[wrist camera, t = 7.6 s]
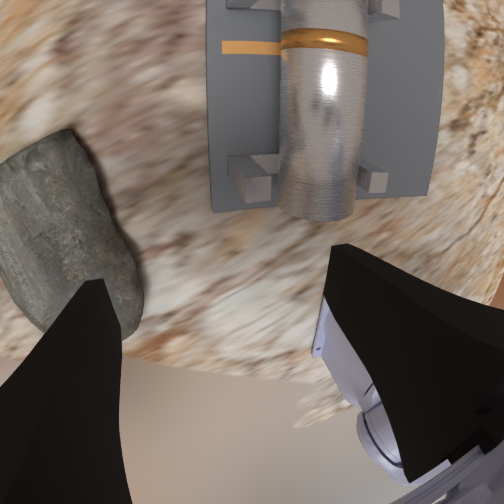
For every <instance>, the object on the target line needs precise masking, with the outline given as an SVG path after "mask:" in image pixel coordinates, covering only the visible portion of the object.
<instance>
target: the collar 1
mask: <svg viewBox="0 0 504 504" xmlns="http://www.w3.org/2000/svg"><path fill="white" fill-rule="evenodd" d="M226 9H232V10H255V11H269V12H279V13H281V0H226ZM394 19H400V7H399V0H368V23H371V22H378V21H386V20H394Z"/></svg>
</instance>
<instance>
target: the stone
mask: <svg viewBox="0 0 504 504" xmlns="http://www.w3.org/2000/svg"><path fill="white" fill-rule="evenodd" d="M0 275H1V277H2V279H3V281H4V283H5V285H6V287H7V289H8V292H9V294H10V296H11V298H12V300H13V302H14V303H15V304H16V305H17V306H18V307H19V308H20V310H21V311H22V312H23V313H24V315H25V316H26V317H27V318H28V319H29V321H30V322H31V323H32V324H34V325H35V326H36V327H37V328H38V329H39V330H41V331H42V332H43V333H46V331H47V330H48V329H49V328H50V326H51V325H52V324H53V322H54V321H55V319H56V318H57V317H58V315H59V314H60V313H61V311H62V310H63V309H64V307H65V306H66V305H67V303H68V302H69V301H70V299H71V298H72V297H73V295H74V294H75V293H76V291H77V290H78V289H79V288H80V286H81V285H82V284H83V283H84V282H85V281H87V280H94V279H101V278H104V281H105V284H106V287H107V290H108V293H109V296H110V299H111V302H112V304H113V307H114V310H115V312H116V315H117V318H118V320H119V323H120V325H121V337H122V341H123V340H124V339H126V338H127V337H129V336H130V335H132V334H133V333H134V332H135V331H136V330H137V328H138V326H139V323H140V321H141V317H142V313H143V307H144V294H143V289H142V284H141V281H140V277H139V274H138V271H137V266H136V263H135V260H134V257H133V255H132V253H131V251H130V250H129V249H128V247H127V245H126V243H125V242H124V240H123V239H122V238H121V237H120V235H119V234H118V232H117V230H116V228H115V226H114V224H113V220H112V217H111V215H110V211H109V208H108V206H107V204H106V203H105V201H104V199H103V196H102V193H101V190H100V187H99V183H98V180H97V176H96V171H95V169H94V166H93V164H92V163H91V162H90V161H89V158H88V155H87V153H86V152H85V150H84V149H83V148H82V147H81V145H80V144H79V143H78V142H77V141H76V139H75V137H74V134H73V131H72V130H70V129H64V130H61V131H58V132H56V133H53V134H51V135H49V136H47V137H45V138H43V139H41V140H40V141H38V142H36V143H35V144H33V145H31V146H29V147H27V148H25V149H23V150H22V151H20V152H18V153H16V154H15V155H13V156H11V157H10V158H8V159H7V160H6V161H4V162H3V163H1V164H0Z"/></svg>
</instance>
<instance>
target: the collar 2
mask: <svg viewBox="0 0 504 504" xmlns="http://www.w3.org/2000/svg"><path fill="white" fill-rule="evenodd" d="M278 163H279V152H268V153H249V154H234V155H227V170H228V176H229V177H230V179H231V181H232V182H233V184H234V185H235V187H236V188H237V190H238V192H239V193H240V195H241V196H242V198H243V200H244V201H245V203H251V202H261V201H271V175H270V174H274V173H278ZM388 174H389V172H387V171H385V170H383V169H381V168H379V167H378V166H376V165H374V164H372V163H370V162H368V161H366V160H364V159H362V158H360V167H359V174H358V182H357V186H358V187H360V188H361V189H363V190H364V191H366V192H367V193H385V192H386V186H387V181H388Z"/></svg>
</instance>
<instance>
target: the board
mask: <svg viewBox="0 0 504 504" xmlns="http://www.w3.org/2000/svg"><path fill="white" fill-rule="evenodd" d="M399 7H400V19H394V20H386V21H378V22H371V23H368V69H367V90H366V105H365V118H364V130H363V140H362V149H361V158H362V159H364V160H366V161H368V162H370V163H372V164H374V165H376V166H378V167H379V168H381V169H383V170H385V171H387V172H389V174H388V181H387V186H386V192H385V193H367V192H366V191H364V190H363V189H361V188H360V187H358V186H357V189H356V196H355V200H357V199H372V198H389V197H409V196H427V192H428V188H429V183H430V178H431V173H432V168H433V162H434V156H435V150H436V144H437V137H438V130H439V122H440V114H441V104H442V92H443V77H444V11H443V0H399ZM280 80H281V13H279V12H269V11H255V10H232V9H226V0H206V94H207V127H208V152H209V173H210V191H211V208H212V212H213V213H217V212H226V211H234V210H244V209H253V208H263V207H273V206H278V204H277V192H278V173H274V174H270V175H271V201H261V202H251V203H245V201H244V200H243V198H242V196H241V195H240V193H239V192H238V190H237V188H236V187H235V185H234V184H233V182H232V181H231V179H230V177H229V176H228V170H227V155H234V154H249V153H268V152H279V129H280Z"/></svg>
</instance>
